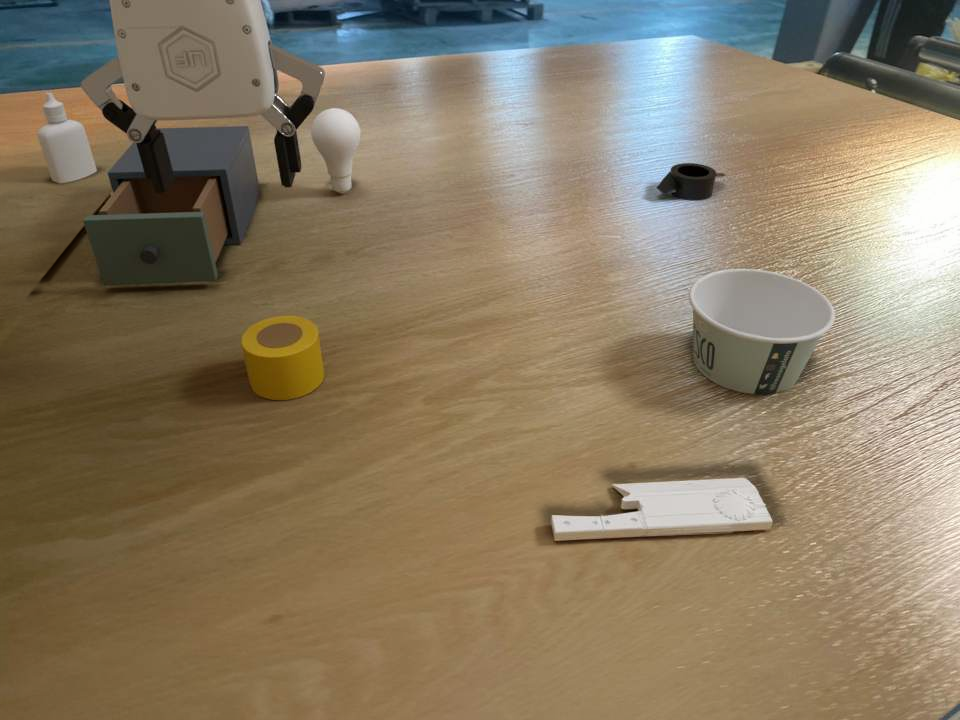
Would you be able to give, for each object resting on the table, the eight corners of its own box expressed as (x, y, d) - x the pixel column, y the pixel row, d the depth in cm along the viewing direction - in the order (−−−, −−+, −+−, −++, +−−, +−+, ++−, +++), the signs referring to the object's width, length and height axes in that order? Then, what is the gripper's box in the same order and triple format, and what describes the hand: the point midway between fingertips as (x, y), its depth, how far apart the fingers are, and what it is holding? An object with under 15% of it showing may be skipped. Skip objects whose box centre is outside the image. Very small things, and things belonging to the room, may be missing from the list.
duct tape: (647, 180, 104) (650, 160, 103) (721, 181, 104) (725, 160, 102) (656, 203, 98) (659, 181, 96) (734, 204, 98) (739, 182, 96)
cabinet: (240, 244, 88) (225, 169, 83) (129, 248, 87) (106, 172, 82) (260, 194, 100) (248, 125, 95) (162, 197, 99) (144, 128, 94)
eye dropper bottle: (53, 181, 104) (23, 91, 97) (98, 174, 106) (71, 86, 99) (55, 193, 100) (24, 101, 94) (101, 185, 103) (74, 94, 96)
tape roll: (244, 402, 64) (234, 358, 62) (256, 358, 69) (247, 316, 67) (321, 398, 65) (314, 354, 62) (327, 355, 70) (321, 313, 67)
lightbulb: (373, 195, 100) (366, 111, 94) (331, 206, 97) (321, 120, 91) (352, 180, 104) (344, 99, 98) (311, 190, 101) (300, 107, 95)
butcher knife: (544, 488, 56) (545, 477, 55) (745, 480, 57) (748, 469, 56) (554, 541, 52) (555, 529, 51) (770, 531, 52) (774, 520, 52)
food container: (845, 390, 66) (867, 326, 62) (722, 415, 63) (737, 350, 59) (764, 319, 75) (780, 260, 71) (654, 338, 72) (664, 277, 68)
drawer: (213, 286, 78) (198, 221, 74) (99, 291, 78) (78, 225, 73) (239, 225, 90) (227, 166, 86) (140, 228, 90) (124, 169, 85)
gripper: (16, -51, 47) (100, 208, 57) (300, -59, 48) (334, 197, 58) (61, -65, 53) (129, 171, 63) (312, -72, 54) (340, 162, 64)
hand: (227, 183), depth 60 cm, fingers open, 9 cm apart
